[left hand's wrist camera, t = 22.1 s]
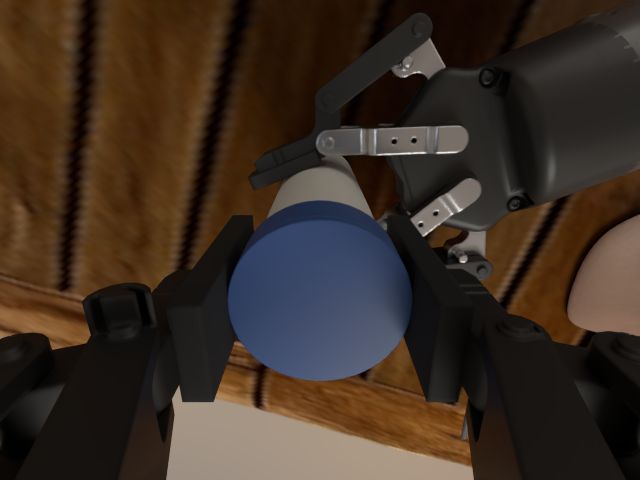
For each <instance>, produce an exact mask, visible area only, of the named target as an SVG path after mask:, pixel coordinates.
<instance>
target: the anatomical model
mask: <svg viewBox="0 0 640 480" xmlns="http://www.w3.org/2000/svg"><path fill="white" fill-rule="evenodd" d="M567 313H568V317H569V319H570V321H571V322H572V323H573V324H575V325H577V326H578V327H581V328H584V329H587V330H591V331H595V332H604V331H614V332H624V333H629V334H630V335H631V334H633V335H636V336H640V214H639V215H637V216H635V217H633V218H631V219H628V220H626V221H624V222H622V223H621V224H619V225H617V226H615V227H614V228H612V229H611V230H609V231H608V232H607V233H605V234H604V235H603V236H602V237H601V238H600V239H599V240H598V241H597V242H596V243H595V244H594V246H593V247H592V248H591V250H590V251H589V253H588V254H587V256H586V257H585V259H584V261H583V263H582V265H581V267H580V269H579V271H578V273H577V276H576V278H575V281H574V283H573V286H572V290H571V293H570V296H569V301H568V306H567Z"/></svg>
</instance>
